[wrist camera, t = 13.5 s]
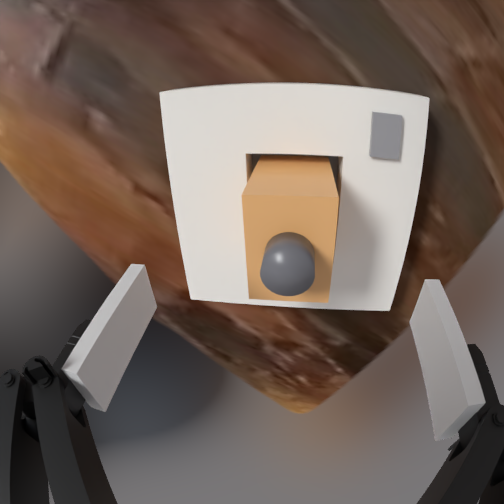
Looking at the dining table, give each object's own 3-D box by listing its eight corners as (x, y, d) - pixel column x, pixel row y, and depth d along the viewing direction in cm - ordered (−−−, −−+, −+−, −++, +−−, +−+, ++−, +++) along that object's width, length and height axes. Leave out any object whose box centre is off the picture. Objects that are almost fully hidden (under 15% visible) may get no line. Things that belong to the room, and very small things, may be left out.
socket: (199, 279, 31) (189, 302, 28) (175, 88, 21) (157, 92, 18) (384, 289, 28) (390, 313, 25) (414, 93, 19) (431, 98, 16)
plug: (264, 236, 27) (243, 320, 18) (261, 155, 23) (233, 211, 14) (323, 238, 26) (329, 325, 17) (328, 156, 22) (342, 214, 14)
